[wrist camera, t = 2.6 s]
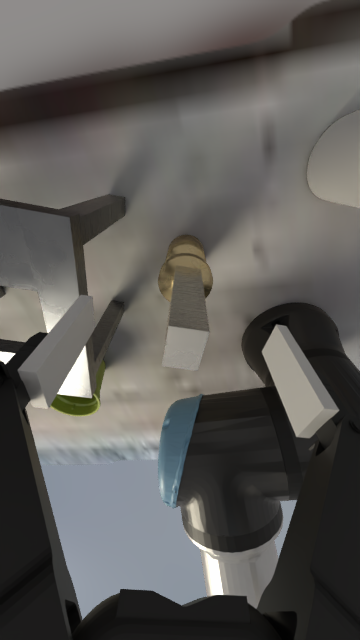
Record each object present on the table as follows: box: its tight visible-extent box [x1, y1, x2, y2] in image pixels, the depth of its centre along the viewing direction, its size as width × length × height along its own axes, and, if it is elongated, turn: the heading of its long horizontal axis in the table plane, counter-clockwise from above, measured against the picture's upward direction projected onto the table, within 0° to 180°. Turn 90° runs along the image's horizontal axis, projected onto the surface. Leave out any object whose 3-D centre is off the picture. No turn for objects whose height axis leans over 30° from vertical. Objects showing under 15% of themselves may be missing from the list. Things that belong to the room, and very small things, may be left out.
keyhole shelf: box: [0, 194, 125, 398], centre depth 24 cm, size 22×18×16 cm
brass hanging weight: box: [158, 235, 213, 371], centre depth 22 cm, size 6×6×20 cm
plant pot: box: [50, 360, 106, 416], centre depth 39 cm, size 9×9×9 cm
